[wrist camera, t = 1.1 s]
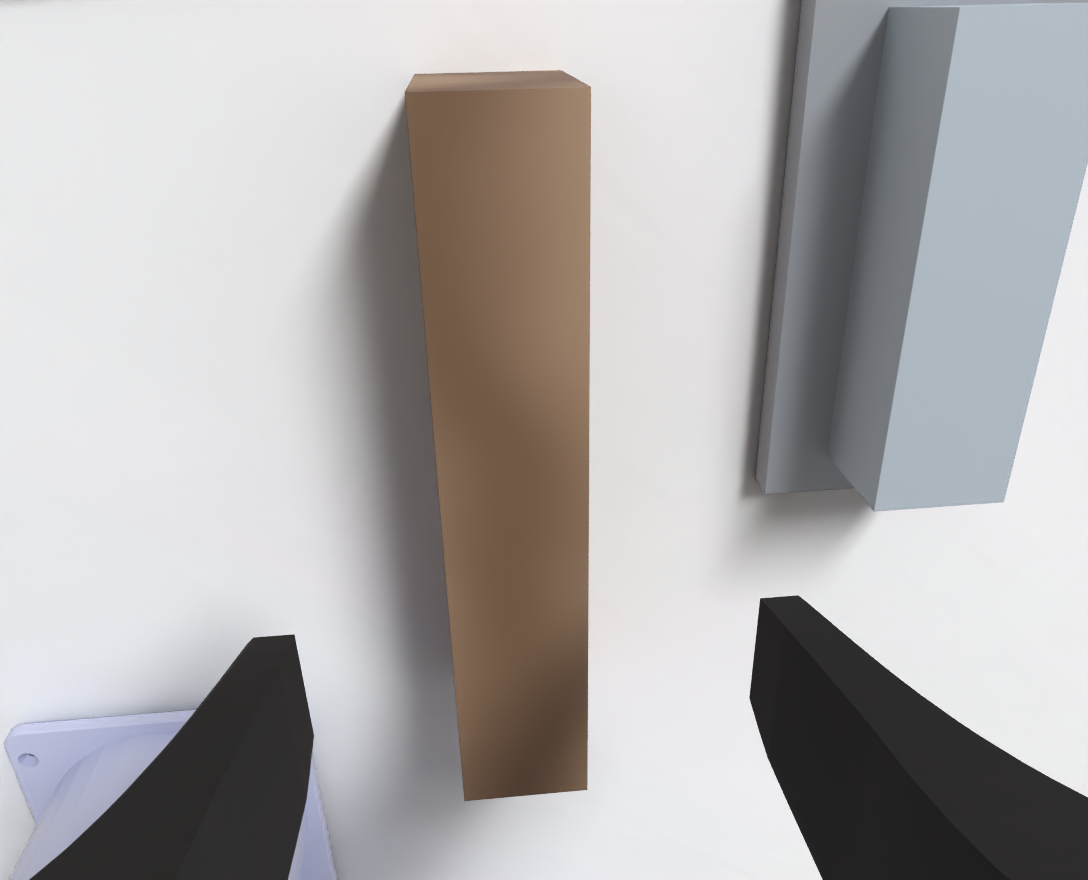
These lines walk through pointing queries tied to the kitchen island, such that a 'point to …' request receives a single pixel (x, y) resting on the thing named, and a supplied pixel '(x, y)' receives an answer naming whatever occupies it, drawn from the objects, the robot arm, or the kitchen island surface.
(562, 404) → the walnut beam
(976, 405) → the fulcrum stand
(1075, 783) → the kitchen island surface
